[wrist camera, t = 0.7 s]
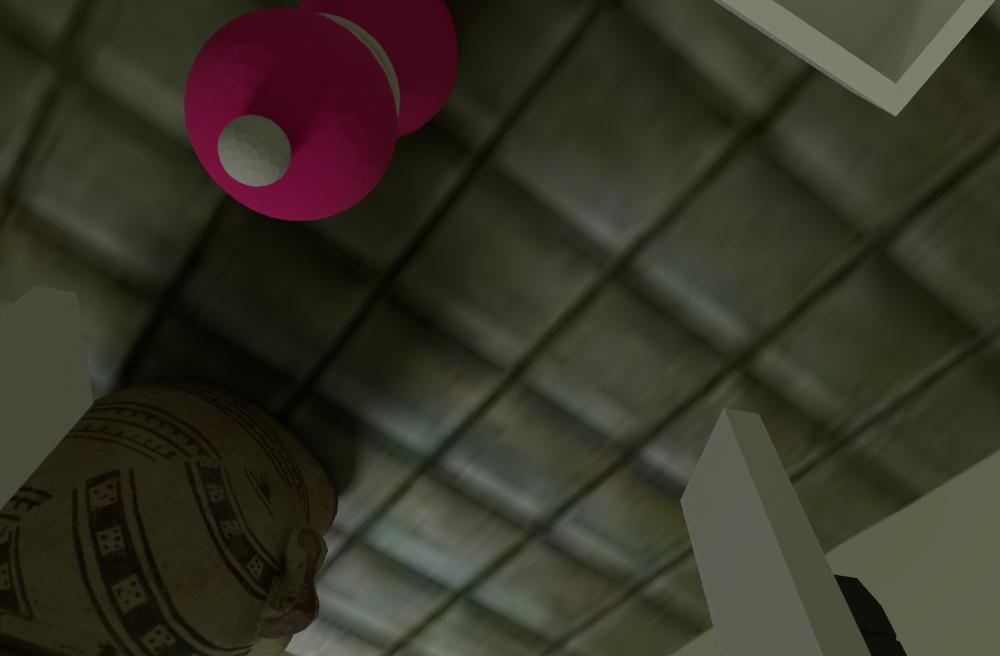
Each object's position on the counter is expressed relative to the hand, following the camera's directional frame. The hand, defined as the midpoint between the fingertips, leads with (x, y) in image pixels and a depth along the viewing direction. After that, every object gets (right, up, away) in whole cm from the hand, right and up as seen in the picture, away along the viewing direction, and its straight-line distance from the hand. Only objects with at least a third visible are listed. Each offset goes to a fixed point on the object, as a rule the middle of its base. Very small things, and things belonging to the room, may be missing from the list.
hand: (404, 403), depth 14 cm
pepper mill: (-3, +16, +20) cm, 26 cm away
